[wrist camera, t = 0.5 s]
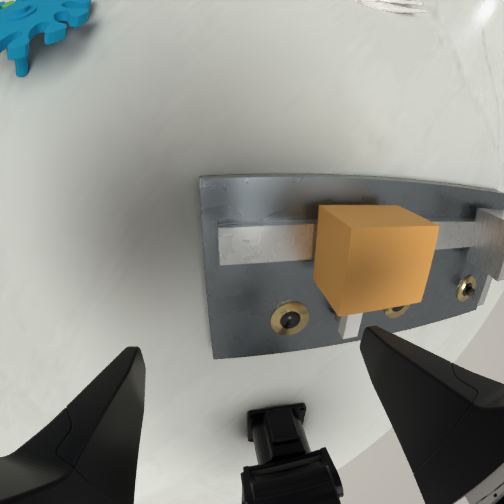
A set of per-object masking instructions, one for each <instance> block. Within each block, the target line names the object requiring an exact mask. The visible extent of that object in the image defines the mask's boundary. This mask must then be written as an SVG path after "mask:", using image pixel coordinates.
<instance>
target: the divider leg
mask: <svg viewBox="0 0 504 504" xmlns="http://www.w3.org/2000/svg"><path fill="white" fill-rule="evenodd" d="M438 231H439V225H437V224H435V223H433V222H431V221H429V220H427V219H425V218H423V217H421V216H419V215H417V214H415V213H413V212H411V211H409V210H407V209H405V208H403V207H400V206H398V205H319V210H318V224H317V238H316V250H315V261H314V272H313V280H314V282H315V283H316V284H317V286H318V287H319V289H320V290H321V292H322V293H323V295H324V296H325V298H326V299H327V301H328V302H329V304H330V305H331V307H332V308H333V309H334V311H335V312H336V314H335V316H334V319H335V320H336V322H337V324H338V325H339V328H338V332H339V334H340V335H341V337H342V338H343V339H346V338H352V337H357V335H358V331H359V327H360V323H361V319H362V315H363V313H365V312H371V311H376V310H382V309H388V308H393V307H398V306H404V305H409V304H414V303H418V302H421V300H422V297H423V293H424V290H425V286H426V283H427V279H428V275H429V271H430V267H431V263H432V259H433V255H434V250H435V246H436V241H437V236H438Z"/></svg>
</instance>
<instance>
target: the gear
mask: <svg viewBox="0 0 504 504" xmlns="http://www.w3.org/2000/svg"><path fill="white" fill-rule="evenodd" d="M90 3H91V0H16V1H15V2H14V1H10V2H7V3H5V2H1V3H0V52H1V51H2V50H4V49H5V48H7V52H8V60H14V59H15V65H16V75H17V76H18V77H21V76H24V75H26V74H27V73H28V53H29V42H30V41H31V39H32V38H33V37H34V36H35V35H37V34H39V33H42V32H45V35H44V43H45V44H47V45H49V44H53V43H56V42H58V41H61V40H63V39H65V35H66V24H64V23H60V22H58V21H67V22H68V25H69V26H70V27H78V26H81V25H82V24H84V23H85V22H86V21H88V16H89V11H90V10H89V7H90Z"/></svg>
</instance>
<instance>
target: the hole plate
mask: <svg viewBox="0 0 504 504" xmlns="http://www.w3.org/2000/svg"><path fill="white" fill-rule="evenodd" d="M199 184H200V205H201V223H202V239H203V253H204V266H205V279H206V290H207V302H208V312H209V322H210V332H211V341H212V350H213V358H214V359H224V358H236V357H248V356H258V355H267V354H275V353H283V352H291V351H298V350H305V349H312V348H318V347H324V346H330V345H336V344H342V343H347V342H352V341H358V340H362V336H363V332H364V329H365V328H366V327H369V326H374V325H375V326H378V327H380V328H382V329H384V330H386V331H388V332H390V333H395V332H399V331H403V330H407V329H411V328H415V327H419V326H423V325H426V324H430V323H434V322H437V321H441V320H444V319H448V318H451V317H454V316H457V315H461V314H464V313H467V312H470V311H473V310H476V308H477V306H479V305H482V304H484V301H485V298H486V295H487V293H488V290H489V287H490V284H491V281H492V278H494V279H495V280H497V281H500V280H503V279H504V193H502V192H500V191H497V190H492V189H485V188H479V187H472V186H465V185H458V184H450V183H442V182H433V181H424V180H413V179H402V178H389V177H375V176H357V175H334V174H235V175H211V176H200V179H199ZM319 205H398V206H400V207H403V208H405V209H407V210H409V211H411V212H413V213H415V214H417V215H419V216H421V217H423V218H425V219H427V220H429V221H431V222H433V223H435V224H437V225H439V231H438V236H437V241H436V246H435V250H434V255H433V259H432V263H431V267H430V271H429V275H428V279H427V283H426V286H425V290H424V293H423V297H422V300H421V302H418V303H414V304H409V305H404V306H398V307H393V308H388V309H382V310H376V311H371V312H365V313H363V315H362V319H361V323H360V327H359V331H358V335H357V337H352V338H346V339H343V338H342V337H341V335H340V334H339V332H338V328H339V325H338V324H337V322H336V320H335V319H334V316H335V314H336V312H335V311H334V309H333V308H332V307H331V305H330V304H329V302H328V301H327V299H326V298H325V296H324V295H323V293H322V292H321V290H320V289H319V287H318V286H317V284H316V283H315V282H314V280H313V272H314V261H315V250H316V238H317V224H318V210H319Z"/></svg>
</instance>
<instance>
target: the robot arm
mask: <svg viewBox="0 0 504 504" xmlns="http://www.w3.org/2000/svg"><path fill="white" fill-rule="evenodd" d="M360 351H361V354H362V356H363V359H364V362H365V365H366V367H367V370H368V373H369V376H370V379H371V381H372V384H373V386H374V388H375V390H376V392H377V394H378V397H379V399H380V401H381V403H382V405H383V407H384V409H385V411H386V413H387V416H388V418H389V420H390V422H391V424H392V426H393V428H394V431H395V433H396V435H397V437H398V440H399V442H400V444H401V446H402V449H403V451H404V453H405V455H406V458H407V460H408V462H409V465H410V467H411V469H412V472H413V473H414V477H415V479H416V482H417V484H418V487H419V489H420V491H421V494H422V496H423V499H424V501H425V504H454V503H455V502H457V501H458V500H460V499H461V498H463V497H464V496H465V497H466V498H467V500H468V502H469V504H504V384H502V383H500V382H497V381H494V380H492V379H489V378H486V377H484V376H481V375H478V374H476V373H473V372H471V371H469V370H466V369H464V368H462V367H460V366H458V365H456V364H454V363H451V362H450V361H447V360H445V359H443V358H441V357H439V356H437V355H435V354H433V353H431V352H429V351H427V350H425V349H423V348H421V347H419V346H417V345H415V344H413V343H411V342H409V341H407V340H404V339H402V338H400V337H398V336H396V335H394V334H392V333H390V332H388V331H386V330H384V329H382V328H380V327H378V326H375V325H374V326H369V327H366V328H365V329H364V332H363V336H362V340H361V343H360ZM145 374H146V368H145V363H144V360H143V356H142V353H141V350H140V348H139V347H126V348H125V349H124V350H123V351H122V352H121V353H120V354H119V355H118V356H117V357H116V358H115V359H114V360H113V361H112V362H111V363H110V364H109V365H108V366H107V367H106V368H105V369H104V370H103V371H102V372H101V373H100V374H99V375H98V376H97V377H96V378H95V379H94V380H93V381H92V382H91V383H90V384H89V385H88V386H87V387H86V388H85V389H84V390H83V391H82V392H81V393H80V394H79V395H78V396H77V397H75V398H74V399H73V400H72V401H71V402H70V403H69V404H68V405H67V408H64V409H63V410H62V411H61V412H60V413H59V414H58V415H57V416H56V417H55V418H54V419H53V420H52V421H51V422H50V423H49V424H48V425H47V426H45V427H44V428H43V429H42V430H41V431H40V432H38V433H37V434H36V435H35V436H33V437H32V438H31V439H30V440H28V441H27V442H26V443H25V444H23V445H22V446H21V447H20V448H19V449H17V450H16V451H15V452H13V453H11V454H10V455H7V456H5V457H0V504H134V492H135V480H136V470H137V460H138V452H139V443H140V436H141V428H142V421H143V414H144V397H145ZM305 412H306V405H305V404H298V405H292V406H286V407H279V408H273V409H265V410H257V411H250V412H248V413H247V428H248V441H249V442H254V445H255V450H256V455H257V460H258V465H255V466H245V467H243V469H244V472H242V473H241V480H242V504H341V503H340V500H339V498H340V497H343V487H342V484H341V480H340V477H339V475H338V472H337V470H336V468H335V466H334V464H333V462H332V460H331V458H330V456H329V453H328V451H327V449H326V447H324V448H321V449H320V450H317V451H313V452H311V450H310V447H309V444H308V441H307V438H306V435H305V432H304V429H303V426H302V425H303V421H304V416H305Z"/></svg>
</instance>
